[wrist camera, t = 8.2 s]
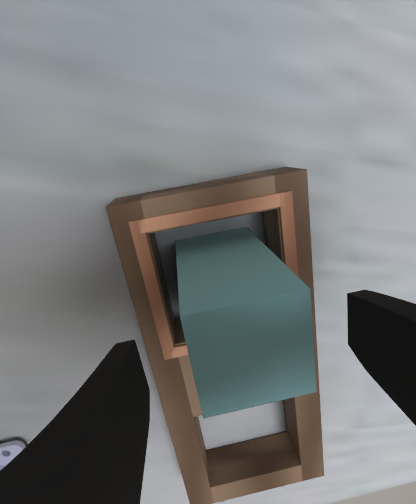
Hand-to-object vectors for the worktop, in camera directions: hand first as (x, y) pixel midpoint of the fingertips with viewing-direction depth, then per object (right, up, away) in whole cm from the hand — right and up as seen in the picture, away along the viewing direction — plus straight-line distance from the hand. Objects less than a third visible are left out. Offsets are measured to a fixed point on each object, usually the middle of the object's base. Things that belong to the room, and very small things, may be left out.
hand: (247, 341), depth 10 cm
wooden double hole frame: (0, -3, +9) cm, 9 cm away
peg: (-1, +2, +7) cm, 8 cm away
